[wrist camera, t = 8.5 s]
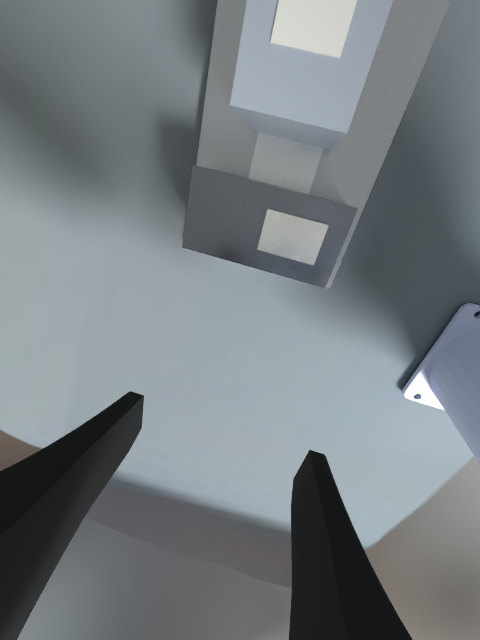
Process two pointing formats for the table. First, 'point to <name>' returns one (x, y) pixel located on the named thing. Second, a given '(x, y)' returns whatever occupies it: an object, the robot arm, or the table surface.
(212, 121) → the rail base
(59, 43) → the table surface
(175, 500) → the table surface
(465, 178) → the table surface
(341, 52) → the block
